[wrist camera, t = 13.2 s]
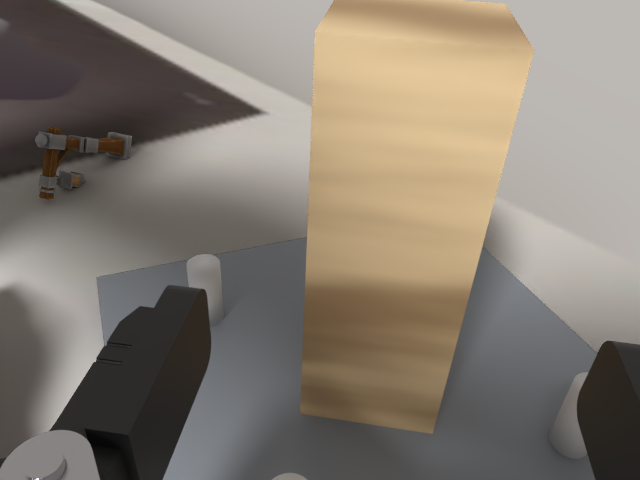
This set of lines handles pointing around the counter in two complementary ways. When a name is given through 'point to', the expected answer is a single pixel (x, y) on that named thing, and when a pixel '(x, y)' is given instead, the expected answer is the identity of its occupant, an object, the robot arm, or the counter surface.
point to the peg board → (352, 437)
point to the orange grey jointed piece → (54, 140)
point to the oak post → (401, 197)
